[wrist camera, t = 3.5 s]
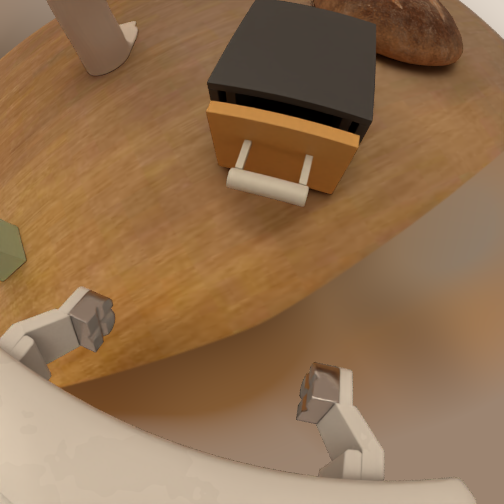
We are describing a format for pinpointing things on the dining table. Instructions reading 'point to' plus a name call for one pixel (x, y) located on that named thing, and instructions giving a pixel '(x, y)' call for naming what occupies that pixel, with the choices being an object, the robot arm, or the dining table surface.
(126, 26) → the candle
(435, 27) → the bread
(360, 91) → the cabinet
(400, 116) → the dining table surface
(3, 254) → the block
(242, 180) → the drawer
